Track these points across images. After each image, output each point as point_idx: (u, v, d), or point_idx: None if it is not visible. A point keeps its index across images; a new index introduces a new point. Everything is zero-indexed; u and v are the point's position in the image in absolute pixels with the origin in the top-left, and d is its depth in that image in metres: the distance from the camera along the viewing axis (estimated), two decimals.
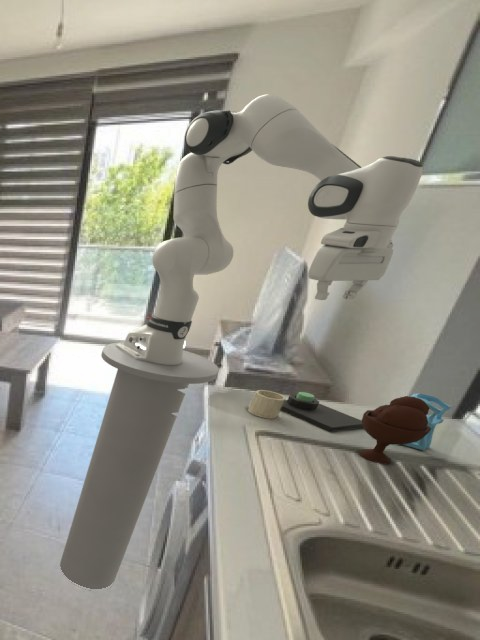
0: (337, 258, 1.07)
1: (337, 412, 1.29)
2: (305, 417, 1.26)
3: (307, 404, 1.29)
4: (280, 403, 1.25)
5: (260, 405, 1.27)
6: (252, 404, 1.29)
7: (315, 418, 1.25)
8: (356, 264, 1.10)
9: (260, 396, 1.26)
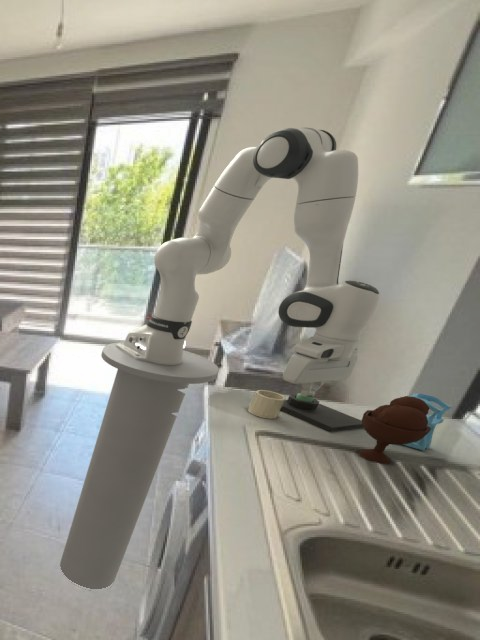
0: (307, 366, 1.22)
1: (337, 412, 1.29)
2: (305, 417, 1.26)
3: (307, 404, 1.29)
4: (280, 403, 1.25)
5: (260, 405, 1.27)
6: (252, 404, 1.29)
7: (315, 418, 1.25)
8: (324, 369, 1.25)
9: (260, 396, 1.26)
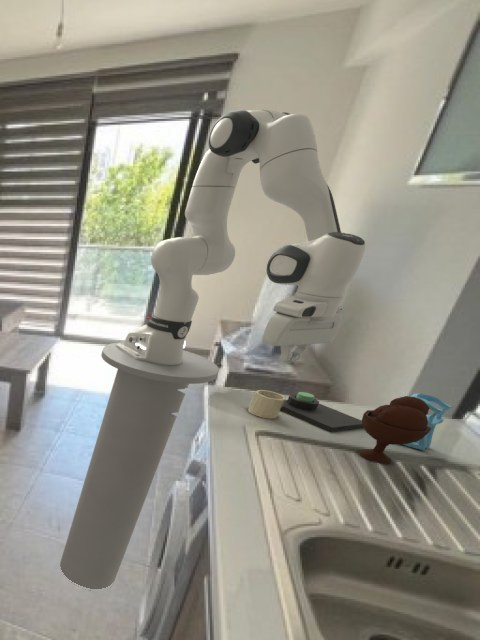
0: (288, 326, 1.13)
1: (337, 412, 1.29)
2: (305, 417, 1.26)
3: (307, 404, 1.29)
4: (280, 403, 1.25)
5: (260, 405, 1.27)
6: (252, 404, 1.29)
7: (315, 418, 1.25)
8: (306, 330, 1.16)
9: (260, 396, 1.26)
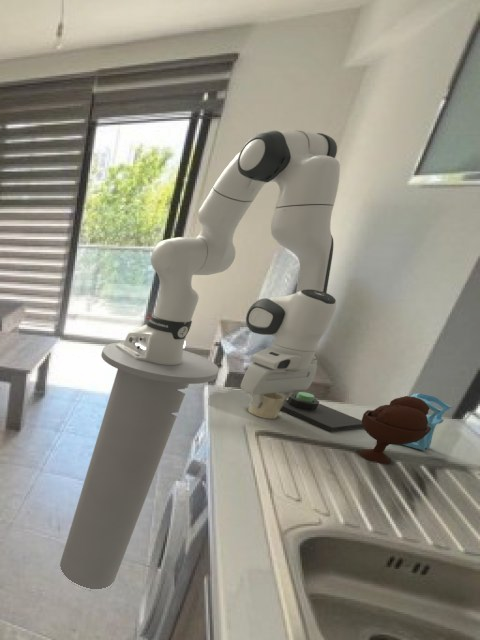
0: (264, 377, 1.19)
1: (337, 412, 1.29)
2: (305, 417, 1.26)
3: (307, 404, 1.29)
4: (280, 403, 1.25)
5: None
6: None
7: (315, 418, 1.25)
8: (282, 380, 1.22)
9: None
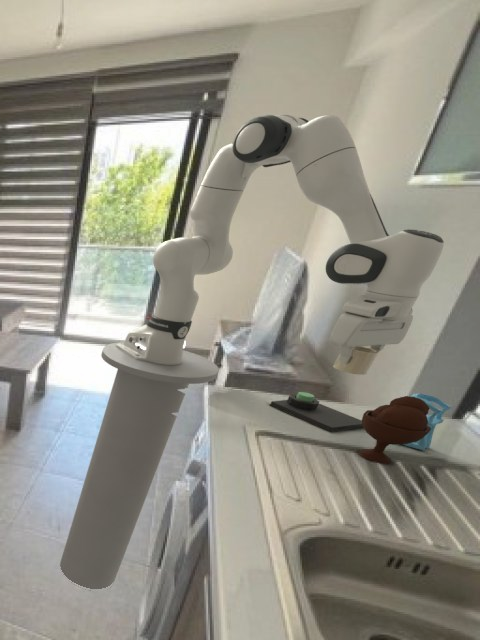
0: (359, 327, 1.10)
1: (337, 412, 1.29)
2: (305, 417, 1.26)
3: (307, 404, 1.29)
4: (373, 357, 1.15)
5: None
6: None
7: (315, 418, 1.25)
8: (376, 331, 1.13)
9: None
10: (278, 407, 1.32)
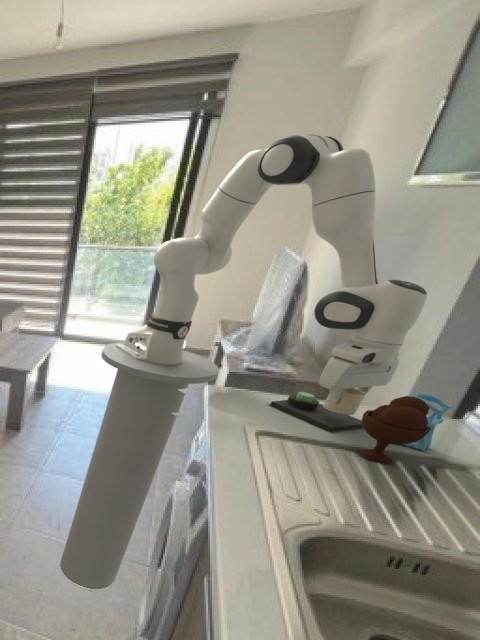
0: (347, 372, 1.14)
1: None
2: (305, 417, 1.26)
3: (307, 404, 1.29)
4: (360, 399, 1.19)
5: None
6: None
7: (315, 418, 1.25)
8: (364, 374, 1.17)
9: None
10: (278, 407, 1.32)
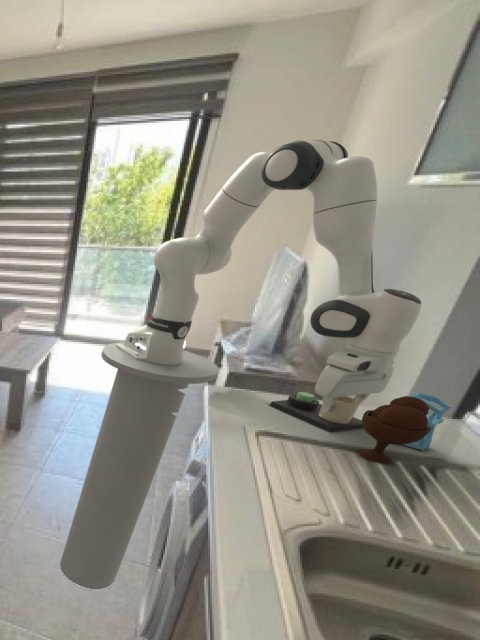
0: (342, 380, 1.15)
1: None
2: (305, 417, 1.26)
3: (307, 404, 1.29)
4: (355, 408, 1.21)
5: (333, 410, 1.23)
6: None
7: (315, 418, 1.25)
8: (359, 382, 1.18)
9: None
10: (278, 407, 1.32)
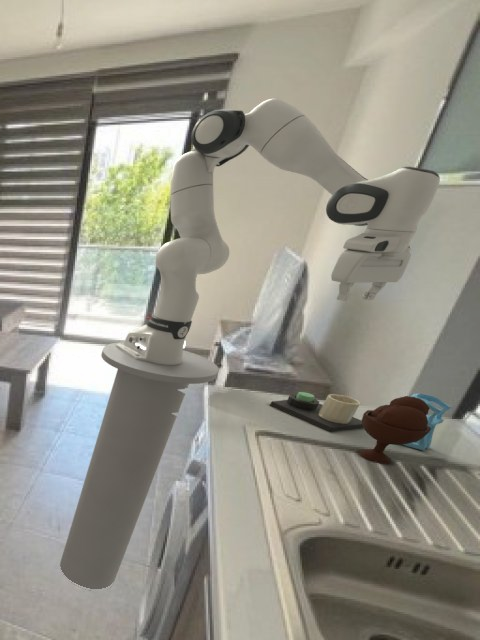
0: (360, 262, 1.15)
1: None
2: (305, 417, 1.26)
3: (307, 404, 1.29)
4: (355, 408, 1.21)
5: (333, 410, 1.23)
6: (324, 409, 1.25)
7: (315, 418, 1.25)
8: (376, 267, 1.18)
9: (333, 400, 1.22)
10: (278, 407, 1.32)
